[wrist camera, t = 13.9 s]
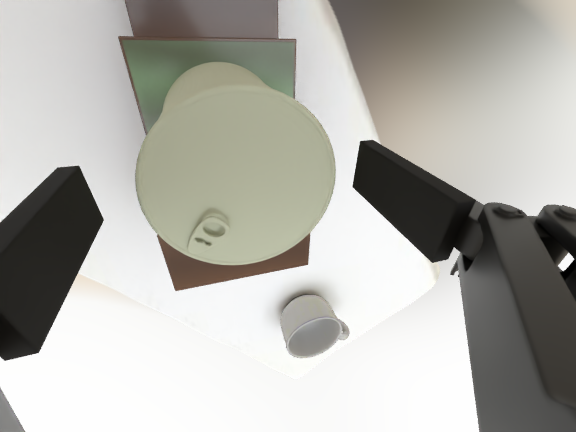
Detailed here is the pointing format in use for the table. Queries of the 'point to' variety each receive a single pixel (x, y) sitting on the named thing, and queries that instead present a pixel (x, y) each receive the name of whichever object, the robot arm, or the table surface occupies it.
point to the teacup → (310, 326)
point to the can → (233, 168)
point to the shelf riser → (195, 51)
